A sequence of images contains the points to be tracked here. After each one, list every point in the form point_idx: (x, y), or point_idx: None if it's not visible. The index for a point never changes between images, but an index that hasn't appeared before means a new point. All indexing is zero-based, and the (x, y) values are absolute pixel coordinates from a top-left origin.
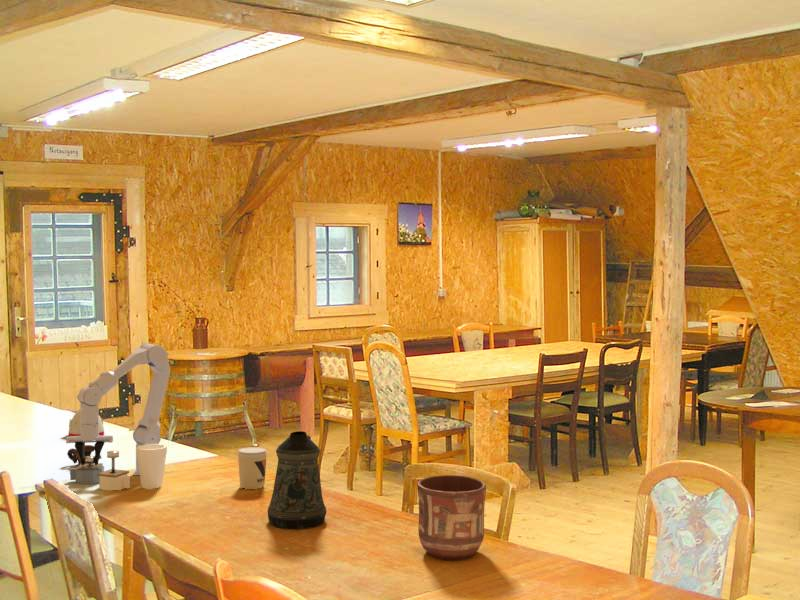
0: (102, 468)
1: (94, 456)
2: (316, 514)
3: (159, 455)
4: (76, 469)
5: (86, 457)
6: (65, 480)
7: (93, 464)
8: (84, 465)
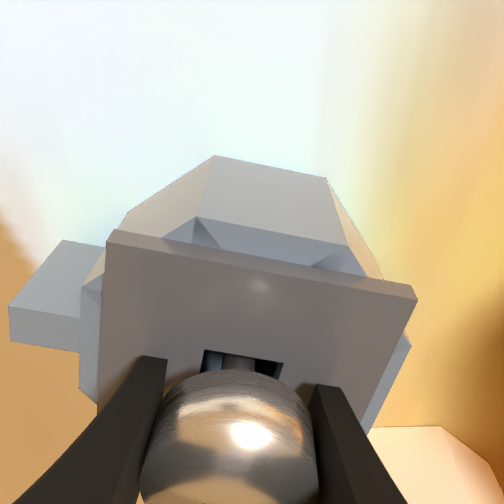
0: (373, 421)
1: (304, 475)
2: None
3: None
4: (91, 399)
5: (177, 497)
6: (6, 188)
7: (285, 329)
8: (167, 346)
